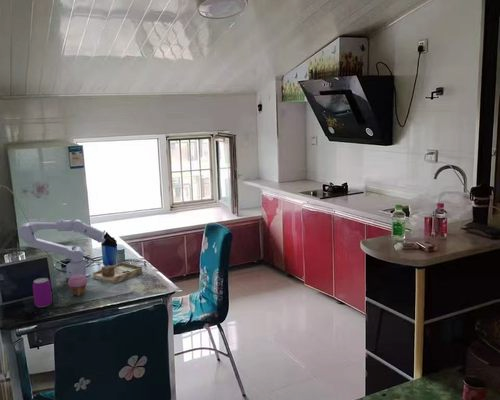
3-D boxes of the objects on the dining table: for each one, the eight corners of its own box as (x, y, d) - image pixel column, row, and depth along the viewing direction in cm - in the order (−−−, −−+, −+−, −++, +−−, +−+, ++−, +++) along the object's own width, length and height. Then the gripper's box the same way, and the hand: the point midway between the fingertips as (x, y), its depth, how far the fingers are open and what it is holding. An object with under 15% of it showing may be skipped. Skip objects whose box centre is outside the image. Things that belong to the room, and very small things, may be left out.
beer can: (109, 268, 281) (107, 241, 278) (100, 266, 286) (97, 239, 283) (121, 264, 288) (119, 237, 285) (112, 262, 293) (109, 235, 290)
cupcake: (79, 298, 239) (77, 278, 237) (65, 296, 243) (63, 276, 241) (92, 292, 247) (90, 272, 245) (78, 289, 251) (76, 270, 249)
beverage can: (55, 301, 237) (52, 277, 235) (48, 307, 229) (45, 283, 227) (39, 301, 237) (36, 277, 235) (31, 308, 230) (28, 283, 227)
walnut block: (107, 277, 262) (107, 269, 261) (102, 275, 264) (101, 267, 264) (114, 274, 265) (113, 266, 265) (109, 273, 268) (108, 265, 267)
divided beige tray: (113, 283, 258) (112, 277, 257) (93, 277, 267) (93, 271, 267) (142, 272, 273) (141, 266, 273) (122, 267, 283) (122, 261, 282)
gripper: (97, 229, 262) (120, 241, 266) (96, 224, 275) (119, 235, 280) (90, 241, 262) (114, 252, 266) (90, 235, 275) (112, 246, 280)
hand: (116, 244), depth 273 cm, fingers open, 7 cm apart
